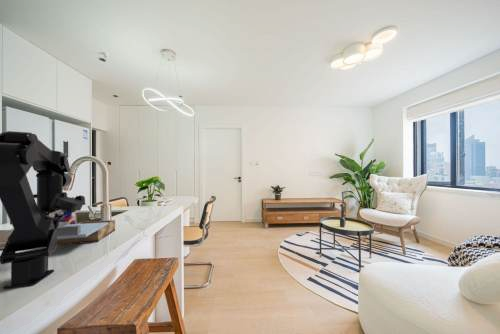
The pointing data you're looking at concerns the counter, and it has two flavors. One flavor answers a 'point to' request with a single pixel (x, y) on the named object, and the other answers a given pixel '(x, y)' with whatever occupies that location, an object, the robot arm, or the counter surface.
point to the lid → (78, 230)
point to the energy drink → (67, 218)
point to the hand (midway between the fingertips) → (49, 237)
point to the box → (92, 237)
